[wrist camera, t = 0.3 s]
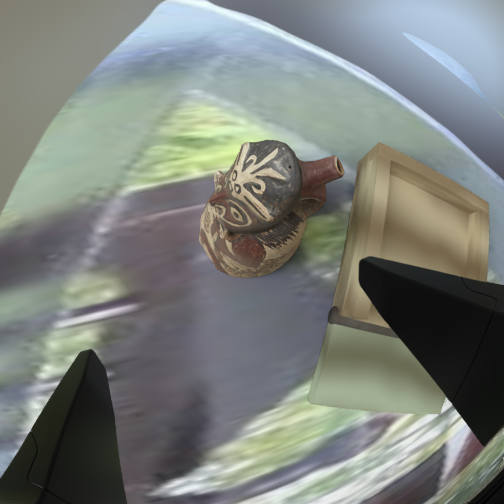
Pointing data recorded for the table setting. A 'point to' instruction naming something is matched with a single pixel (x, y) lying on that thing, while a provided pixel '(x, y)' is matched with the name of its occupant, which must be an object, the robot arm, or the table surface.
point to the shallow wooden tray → (404, 251)
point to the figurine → (263, 207)
